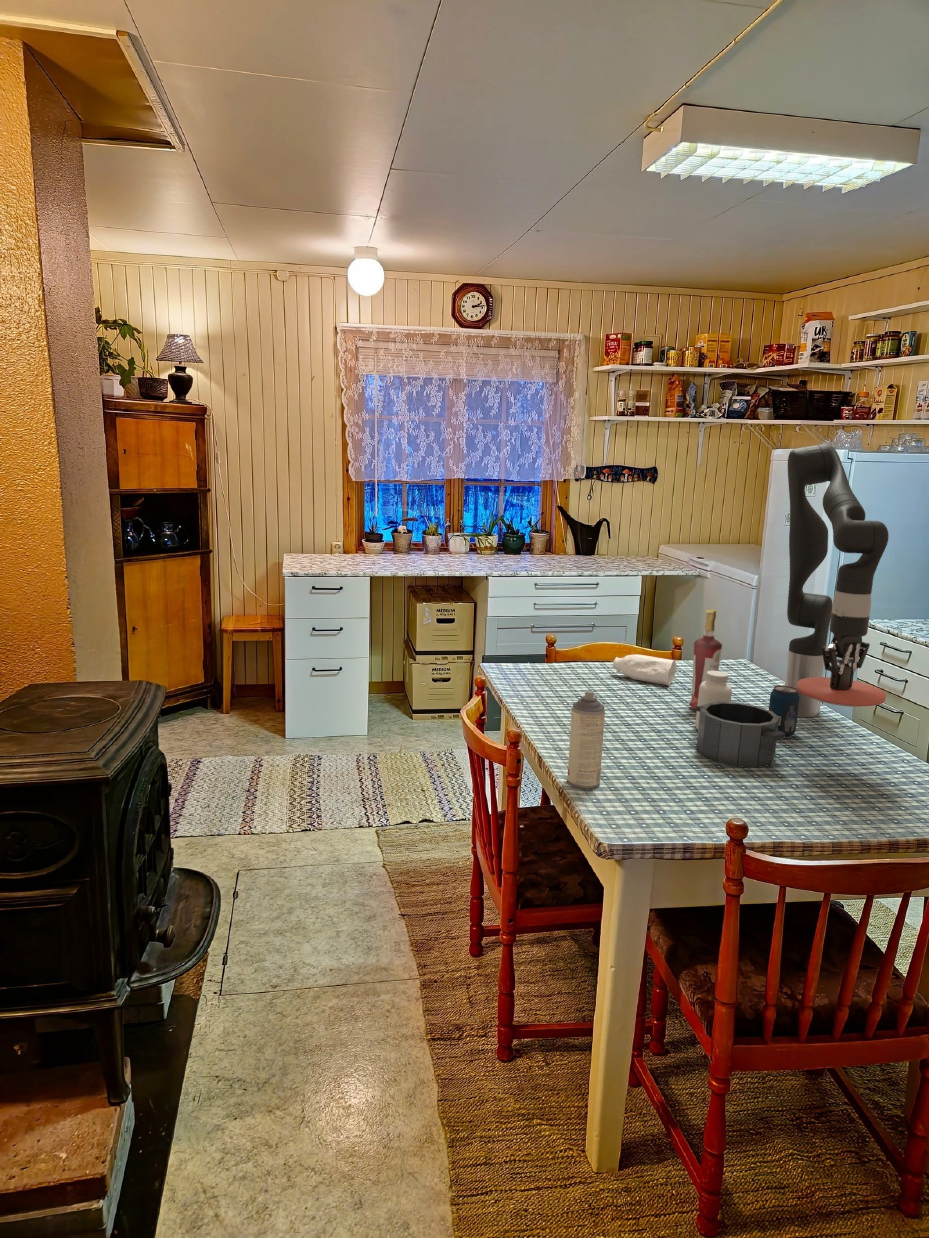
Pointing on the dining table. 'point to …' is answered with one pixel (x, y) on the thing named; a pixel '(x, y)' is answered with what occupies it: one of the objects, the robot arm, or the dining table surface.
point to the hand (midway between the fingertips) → (840, 687)
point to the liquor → (705, 656)
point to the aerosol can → (586, 742)
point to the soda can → (785, 708)
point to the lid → (841, 691)
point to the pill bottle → (713, 690)
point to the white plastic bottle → (646, 668)
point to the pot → (738, 734)
